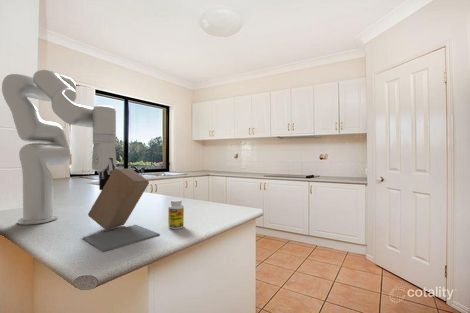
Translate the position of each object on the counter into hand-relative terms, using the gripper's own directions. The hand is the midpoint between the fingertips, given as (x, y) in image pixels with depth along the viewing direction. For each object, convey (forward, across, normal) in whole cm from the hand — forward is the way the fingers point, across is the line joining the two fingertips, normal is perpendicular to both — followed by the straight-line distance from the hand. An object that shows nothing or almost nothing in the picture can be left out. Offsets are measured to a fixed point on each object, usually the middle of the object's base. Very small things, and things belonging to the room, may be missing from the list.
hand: (104, 189), depth 87 cm
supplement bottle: (+15, +19, +18) cm, 30 cm away
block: (+12, 0, 0) cm, 12 cm away
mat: (+14, +14, 0) cm, 20 cm away
